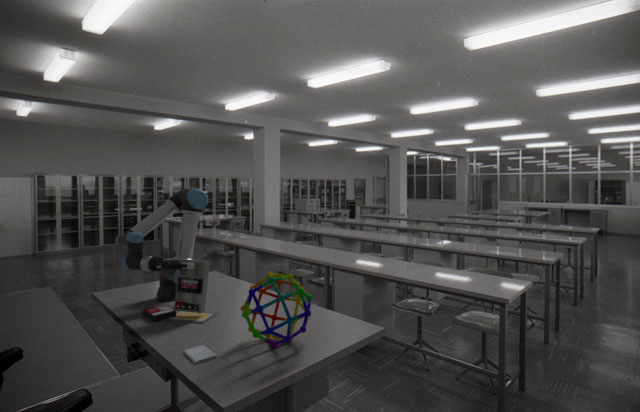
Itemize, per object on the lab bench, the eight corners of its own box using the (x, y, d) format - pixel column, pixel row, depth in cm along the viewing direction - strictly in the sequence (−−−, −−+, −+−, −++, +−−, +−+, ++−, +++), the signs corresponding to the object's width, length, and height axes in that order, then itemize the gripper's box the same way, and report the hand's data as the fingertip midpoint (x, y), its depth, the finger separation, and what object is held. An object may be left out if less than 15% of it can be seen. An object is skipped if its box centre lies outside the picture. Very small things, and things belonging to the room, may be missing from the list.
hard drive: (216, 355, 138) (204, 344, 148) (195, 361, 133) (183, 349, 143) (216, 359, 138) (204, 348, 148) (195, 366, 133) (183, 353, 143)
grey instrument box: (172, 311, 179) (178, 259, 181) (178, 308, 185) (183, 259, 187) (199, 313, 178) (205, 261, 180) (205, 311, 184) (210, 261, 186)
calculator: (164, 304, 193) (176, 309, 182) (164, 312, 193) (176, 318, 182) (142, 309, 185) (153, 314, 175) (142, 317, 185) (153, 323, 175)
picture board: (180, 311, 192) (180, 310, 192) (217, 313, 187) (217, 312, 187) (163, 320, 178) (163, 319, 178) (203, 323, 173) (203, 322, 173)
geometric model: (299, 273, 173) (241, 261, 158) (336, 284, 148) (270, 270, 133) (284, 338, 169) (222, 332, 153) (319, 360, 144) (249, 356, 128)
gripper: (161, 267, 193) (202, 269, 188) (143, 274, 179) (186, 276, 174) (161, 253, 192) (202, 255, 188) (142, 259, 178) (186, 260, 173)
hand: (194, 265), depth 181 cm, fingers closed
